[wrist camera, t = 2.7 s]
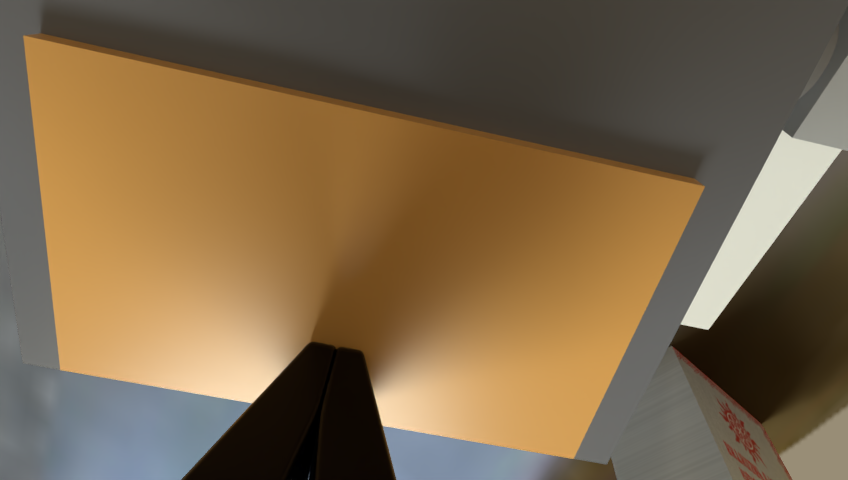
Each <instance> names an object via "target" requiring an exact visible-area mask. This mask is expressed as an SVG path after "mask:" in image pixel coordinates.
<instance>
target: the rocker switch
mask: <svg viewBox="0 0 848 480" xmlns="http://www.w3.org/2000/svg"><path fill="white" fill-rule="evenodd" d="M847 6H848V0H0V214H1V221H2V228H3V234H4V241H5V248H6V254H7V261H8V268H9V275H10V281H11V288H12V295H13V301H14V308H15V315H16V321H17V328H18V335H19V341H20V348H21V355H22V361H23V363H24V364H30V365H36V366H42V367H47V368H53V369H59V370H63V371H69V372H74V373H80V374H86V375H92V376H98V377H103V378H109V379H115V380H121V381H126V382H132V383H138V384H144V385H150V386H155V387H161V388H167V389H173V390H178V391H184V392H190V393H196V394H202V395H207V396H213V397H219V398H225V399H230V400H236V401H242V402H248V403H253V402H254V401H255V400H256V399H257V398H258V397H259V396H260V395H261V394H262V392H263V391H264V390H265V389H266V388H267V387H268V386H269V385H270V384H271V383H272V382H273V381H274V380H275V379H276V377H277V376H278V375H279V374H280V373H281V372H282V371H283V370H284V369H285V368H286V367H287V366H288V365H289V363H290V362H291V361H292V360H293V359H294V358H295V357H296V356H297V355H298V354H299V353H300V352H301V351H302V350H303V348H304V347H305V346H306V345H307V344H309V343H310V342H318V343H324V344H329V345H333V346H334V347H335V348H336V350H337V348H339V347H345V348H351V349H356V350H360V351H362V352H363V354H364V356H365V360H366V364H367V368H368V372H369V375H370V379H371V383H372V387H373V391H374V395H375V399H376V403H377V407H378V410H379V414H380V418H381V422H382V426H386V427H392V428H398V429H404V430H410V431H415V432H421V433H427V434H433V435H438V436H444V437H450V438H456V439H462V440H467V441H473V442H479V443H485V444H490V445H496V446H502V447H508V448H514V449H519V450H525V451H531V452H537V453H542V454H548V455H554V456H560V457H566V458H571V459H579V460H584V461H590V462H596V463H602V464H607V463H608V461H609V459H610V457H611V455H612V453H613V452H614V450H615V448H616V446H617V444H618V442H619V440H620V438H621V436H622V434H623V432H624V431H625V429H626V427H627V425H628V423H629V421H630V419H631V417H632V415H633V413H634V412H635V410H636V408H637V406H638V404H639V402H640V400H641V398H642V396H643V394H644V393H645V391H646V389H647V387H648V385H649V383H650V381H651V379H652V377H653V375H654V374H655V372H656V370H657V368H658V366H659V364H660V362H661V360H662V358H663V356H664V355H665V353H666V351H667V349H668V347H669V345H670V343H671V341H672V339H673V337H674V335H675V334H676V332H677V330H678V328H679V326H680V324H681V322H682V320H683V318H684V316H685V315H686V313H687V311H688V309H689V307H690V305H691V303H692V301H693V299H694V297H695V296H696V294H697V292H698V290H699V288H700V286H701V284H702V282H703V280H704V278H705V277H706V275H707V273H708V271H709V269H710V267H711V265H712V263H713V261H714V259H715V257H716V256H717V254H718V252H719V250H720V248H721V246H722V244H723V242H724V240H725V238H726V237H727V235H728V233H729V231H730V229H731V227H732V225H733V223H734V221H735V219H736V218H737V216H738V214H739V212H740V210H741V208H742V206H743V204H744V202H745V200H746V199H747V197H748V195H749V193H750V191H751V189H752V187H753V185H754V183H755V181H756V179H757V178H758V176H759V174H760V172H761V170H762V168H763V166H764V164H765V162H766V160H767V159H768V157H769V155H770V153H771V151H772V149H773V147H774V145H775V143H776V141H777V140H778V138H779V136H780V134H781V132H782V130H783V128H784V126H785V124H786V122H787V121H788V119H789V117H790V115H791V113H792V111H793V109H794V107H795V105H796V103H797V102H798V100H799V99H800V98H801V97H802V96H803V95H805V94H806V93H807V92H808V91H809V90H810V89H811V88H812V87H813V85H814V84H815V83H816V82H817V80H818V79H819V78H820V76H821V75H822V73H823V72H824V70H825V69H826V67H827V65H828V63H829V61H830V59H831V57H832V55H833V52H834V50H835V47H836V43H837V39H838V34H839V22H840V20H841V18H842V16H843V14H844V12H845V10H846V8H847Z"/></svg>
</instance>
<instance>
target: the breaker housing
mask: <svg viewBox="0 0 848 480" xmlns="http://www.w3.org/2000/svg"><path fill="white" fill-rule="evenodd" d="M841 150H847V151H848V6H847V8H846V10H845V12H844V14H843V16H842V18H841V20H840V22H839V34H838V39H837V43H836V47H835V50H834V52H833V55H832V57H831V59H830V61H829V63H828V65H827V67H826V69H825V70H824V72H823V73H822V75H821V76H820V78H819V79H818V80H817V82H816V83H815V84H814V85H813V87H812V88H811V89H810V90H809V91H808V92H807V93H806V94H805V95H803V96H802V97H801V98H800V99H799V100H798V102H797V103H796V105H795V107H794V109H793V111H792V113H791V115H790V117H789V119H788V121H787V122H786V124H785V126H784V128H783V130H782V132H781V134H780V136H779V138H778V140H777V141H776V143H775V145H774V147H773V149H772V151H771V153H770V155H769V157H768V159H767V160H766V162H765V164H764V166H763V168H762V170H761V172H760V174H759V176H758V178H757V179H756V181H755V183H754V185H753V187H752V189H751V191H750V193H749V195H748V197H747V199H746V200H745V202H744V204H743V206H742V208H741V210H740V212H739V214H738V216H737V218H736V219H735V221H734V223H733V225H732V227H731V229H730V231H729V233H728V235H727V237H726V238H725V240H724V242H723V244H722V246H721V248H720V250H719V252H718V254H717V256H716V257H715V259H714V261H713V263H712V265H711V267H710V269H709V271H708V273H707V275H706V277H705V278H704V280H703V282H702V284H701V286H700V288H699V290H698V292H697V294H696V296H695V297H694V299H693V301H692V303H691V305H690V307H689V309H688V311H687V313H686V315H685V316H684V318H683V320H682V322H681V325H686V326H691V327H696V328H701V329H707V330H709V328H710V327H711V326H712V324H713V323H714V322H715V320H716V319H717V318H718V316H719V315H720V314H721V312H722V311H723V309H724V308H725V307H726V305H727V304H728V303H729V301H730V300H731V299H732V297H733V296H734V295H735V293H736V292H737V291H738V289H739V288H740V287H741V285H742V284H743V282H744V281H745V280H746V278H747V277H748V276H749V274H750V273H751V272H752V270H753V269H754V268H755V266H756V265H757V264H758V262H759V261H760V260H761V258H762V257H763V255H764V254H765V253H766V251H767V250H768V249H769V247H770V246H771V245H772V243H773V242H774V241H775V239H776V238H777V237H778V235H779V234H780V232H781V231H782V230H783V228H784V227H785V226H786V224H787V223H788V222H789V220H790V219H791V218H792V216H793V215H794V214H795V212H796V211H797V210H798V208H799V207H800V205H801V204H802V203H803V201H804V200H805V199H806V197H807V196H808V195H809V193H810V192H811V191H812V189H813V188H814V187H815V185H816V184H817V182H818V181H819V180H820V178H821V177H822V176H823V174H824V173H825V172H826V170H827V169H828V168H829V166H830V165H831V164H832V162H833V161H834V160H835V158H836V157H837V155H838V154H839V153H840V151H841Z"/></svg>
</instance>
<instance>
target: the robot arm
mask: <svg viewBox="0 0 848 480" xmlns="http://www.w3.org/2000/svg"><path fill="white" fill-rule="evenodd" d="M308 479H309V480H396V477H395V473H394V469H393V465H392V461H391V457H390V453H389V449H388V446H387V442H386V438H385V434H384V430H383V426H382V422H381V418H380V414H379V410H378V407H377V403H376V399H375V395H374V391H373V387H372V383H371V379H370V375H369V372H368V368H367V364H366V360H365V356H364V354H363V352H362V351H360V350H356V349H351V348H345V347H339V348H337V350H336V348H335V347H334V346H333V345H329V344H324V343H318V342H310V343H309V344H307V345H306V346H305V347H304V348H303V350H302V351H301V352H300V353H299V354H298V355H297V356H296V357H295V358H294V359H293V360H292V361H291V362H290V363H289V365H288V366H287V367H286V368H285V369H284V370H283V371H282V372H281V373H280V374H279V375H278V376H277V377H276V379H275V380H274V381H273V382H272V383H271V384H270V385H269V386H268V387H267V388H266V389H265V390H264V391H263V392H262V394H261V395H260V396H259V397H258V398H257V399H256V400H255V401H254V402H253V403H252V404H251V405H250V406H249V408H248V409H247V410H246V411H245V412H244V413H243V414H242V415H241V416H240V417H239V418H238V419H237V420H236V421H235V423H234V424H233V425H232V426H231V427H230V428H229V429H228V430H227V431H226V432H225V433H224V434H223V435H222V437H221V438H220V439H219V440H218V441H217V442H216V443H215V444H214V445H213V446H212V447H211V448H210V449H209V450H208V452H207V453H206V454H205V455H204V456H203V457H202V458H201V459H200V460H199V461H198V462H197V463H196V464H195V466H194V467H193V468H192V469H191V470H190V471H189V472H188V473H187V474H186V475H185V476H184V477H183V478H182V479H181V480H308Z"/></svg>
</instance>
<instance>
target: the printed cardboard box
mask: <svg viewBox="0 0 848 480" xmlns="http://www.w3.org/2000/svg"><path fill="white" fill-rule="evenodd" d="M611 458H612V462H613V466H614V470H615V473H616V477H617V480H792V478H791V476H790V475H789V473H788V471H787V469H786V467H785V466H784V464H783V462H782V460H781V458H780V457H779V455H778V453H777V451H776V449H775V448H774V446H773V444H772V442H771V440H770V438H769V437H768V435H767V433H766V431H765V429H764V428H763V426H762V424H761V423H760V422H759V421H757V420H756V419H755V418H754V417H753V416H752V415H751V414H749V413H748V412H747V411H746V410H745V409H744V408H743V407H741V406H740V405H739V404H738V403H737V402H736V401H735V400H733V399H732V398H731V397H730V396H729V395H728V394H727V393H725V392H724V391H723V390H722V389H721V388H720V387H719V386H717V385H716V384H715V383H714V382H713V381H712V380H711V379H709V378H708V377H707V376H706V375H705V374H704V373H703V372H701V371H700V370H699V369H698V368H697V367H696V366H695V365H693V364H692V363H691V362H690V361H689V360H688V359H687V358H685V357H684V356H683V355H682V354H681V353H680V352H679V351H677V350H676V349H675V348H674V347H673V346H672V345H671V346H670V347H668V349H667V351H666V353H665V355H664V356H663V358H662V360H661V362H660V364H659V366H658V368H657V370H656V372H655V374H654V375H653V377H652V379H651V381H650V383H649V385H648V387H647V389H646V391H645V393H644V394H643V396H642V398H641V400H640V402H639V404H638V406H637V408H636V410H635V412H634V413H633V415H632V417H631V419H630V421H629V423H628V425H627V427H626V429H625V431H624V432H623V434H622V436H621V438H620V440H619V442H618V444H617V446H616V448H615V450H614V452H613V453H612V455H611Z"/></svg>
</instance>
